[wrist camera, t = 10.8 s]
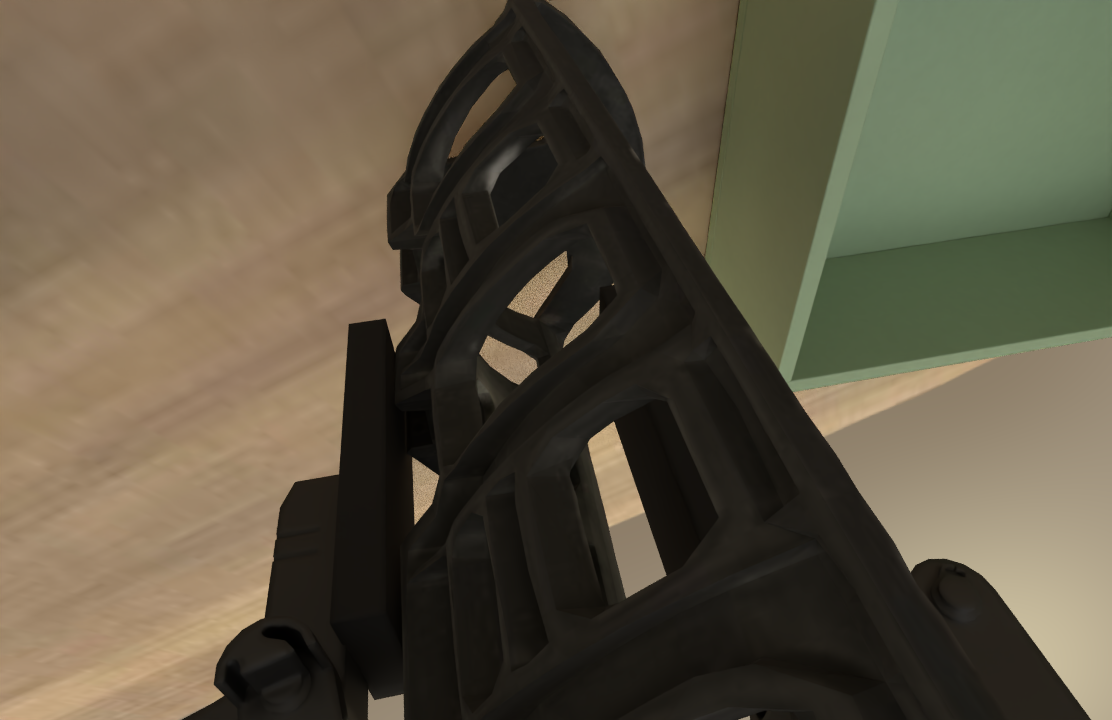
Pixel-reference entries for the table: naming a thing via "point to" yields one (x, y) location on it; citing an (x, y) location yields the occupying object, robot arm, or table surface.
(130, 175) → the table surface
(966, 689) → the holder
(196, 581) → the table surface
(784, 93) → the box
